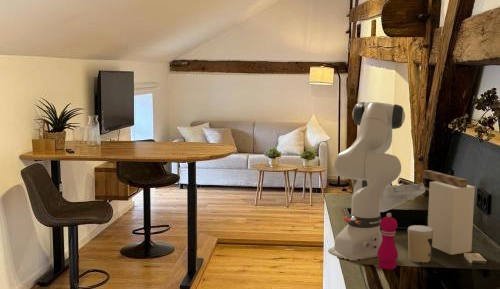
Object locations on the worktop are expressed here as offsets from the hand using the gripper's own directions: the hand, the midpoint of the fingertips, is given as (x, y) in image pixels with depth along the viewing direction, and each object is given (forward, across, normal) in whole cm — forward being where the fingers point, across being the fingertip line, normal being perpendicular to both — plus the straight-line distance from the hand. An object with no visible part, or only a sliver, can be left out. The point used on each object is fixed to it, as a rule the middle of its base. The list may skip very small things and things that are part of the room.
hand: (413, 185), depth 240 cm
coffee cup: (+15, -20, +34) cm, 42 cm away
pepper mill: (+17, -36, +35) cm, 53 cm away
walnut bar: (+19, 0, +5) cm, 20 cm away
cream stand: (+10, 0, +30) cm, 32 cm away
